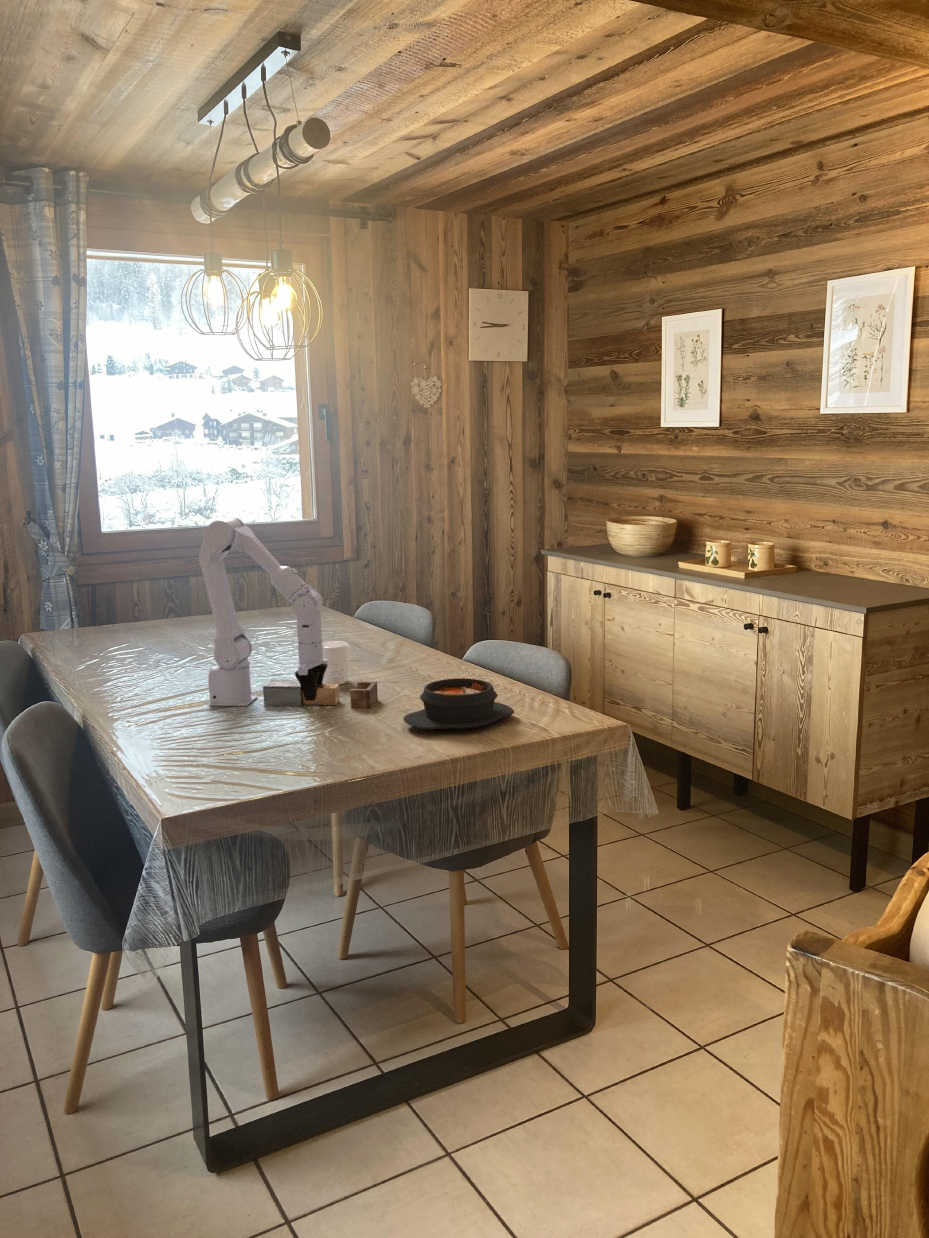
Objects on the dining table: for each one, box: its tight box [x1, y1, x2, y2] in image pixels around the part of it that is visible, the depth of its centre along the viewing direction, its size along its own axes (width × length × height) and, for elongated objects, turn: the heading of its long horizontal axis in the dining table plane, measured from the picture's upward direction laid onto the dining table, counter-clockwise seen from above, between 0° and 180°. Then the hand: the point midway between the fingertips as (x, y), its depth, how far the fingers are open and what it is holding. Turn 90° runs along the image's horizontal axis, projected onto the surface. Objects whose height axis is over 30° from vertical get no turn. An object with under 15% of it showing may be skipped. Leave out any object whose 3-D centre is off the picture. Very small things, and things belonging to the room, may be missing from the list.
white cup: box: [322, 640, 349, 685], centre depth 252 cm, size 8×8×10 cm
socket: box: [349, 680, 379, 710], centre depth 231 cm, size 5×8×4 cm, turn 173°
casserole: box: [403, 677, 515, 731], centre depth 214 cm, size 25×19×8 cm
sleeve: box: [262, 679, 303, 708], centre depth 234 cm, size 9×7×5 cm
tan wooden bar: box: [301, 683, 341, 706], centre depth 233 cm, size 16×4×4 cm, turn 83°
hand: (312, 697), depth 233 cm, fingers open, 4 cm apart
